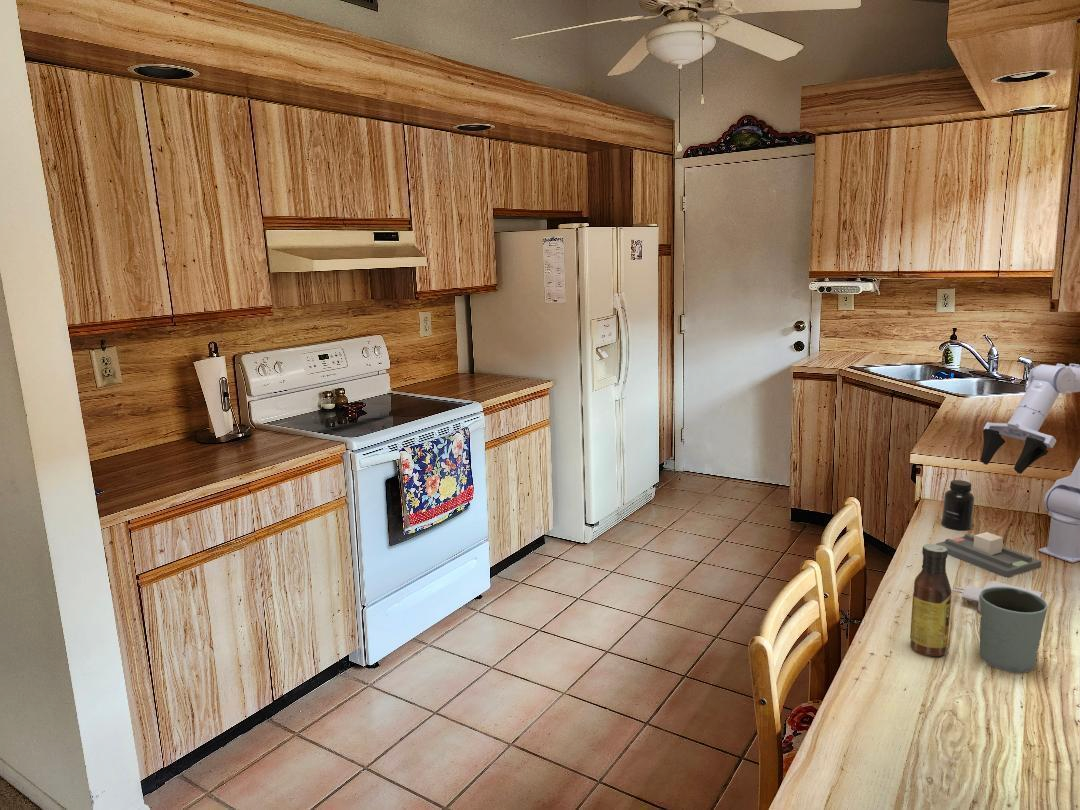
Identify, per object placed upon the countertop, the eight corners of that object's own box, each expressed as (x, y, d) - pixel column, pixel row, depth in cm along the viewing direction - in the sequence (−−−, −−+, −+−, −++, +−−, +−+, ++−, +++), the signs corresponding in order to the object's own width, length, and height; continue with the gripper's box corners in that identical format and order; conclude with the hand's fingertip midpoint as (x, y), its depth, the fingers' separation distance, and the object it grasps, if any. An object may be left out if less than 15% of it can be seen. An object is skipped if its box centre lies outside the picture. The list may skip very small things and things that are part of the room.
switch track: (968, 540, 189) (969, 531, 188) (1041, 567, 173) (1042, 557, 172) (935, 549, 184) (936, 539, 184) (1006, 577, 168) (1007, 567, 168)
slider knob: (985, 546, 181) (987, 532, 180) (1001, 552, 177) (1003, 537, 176) (973, 549, 179) (974, 535, 178) (988, 555, 175) (990, 541, 175)
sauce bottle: (951, 659, 136) (961, 556, 132) (914, 656, 138) (923, 554, 133) (940, 641, 143) (949, 542, 138) (904, 638, 144) (912, 540, 140)
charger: (958, 591, 163) (1040, 612, 153) (947, 607, 156) (1032, 629, 146) (960, 571, 162) (1043, 590, 152) (949, 586, 155) (1035, 607, 145)
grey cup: (1038, 654, 137) (1046, 593, 135) (1041, 682, 129) (1049, 617, 126) (974, 640, 142) (980, 581, 140) (973, 666, 134) (979, 604, 131)
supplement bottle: (944, 529, 196) (948, 485, 194) (939, 520, 203) (943, 477, 200) (974, 531, 194) (978, 487, 192) (967, 522, 201) (972, 479, 198)
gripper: (990, 398, 169) (960, 450, 168) (1056, 410, 156) (1024, 466, 155) (1004, 414, 172) (975, 464, 171) (1071, 427, 159) (1040, 482, 158)
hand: (1000, 466), depth 163 cm, fingers open, 7 cm apart
